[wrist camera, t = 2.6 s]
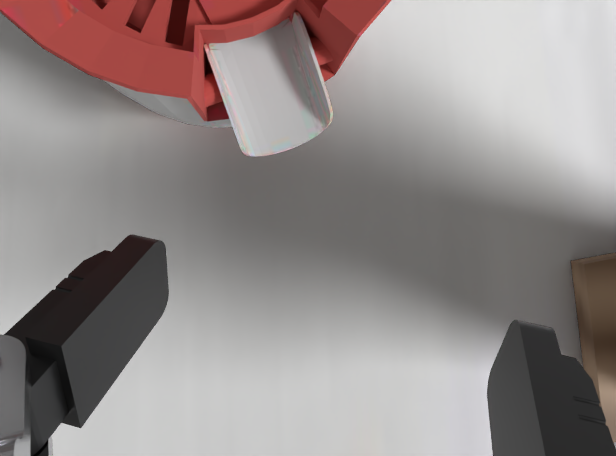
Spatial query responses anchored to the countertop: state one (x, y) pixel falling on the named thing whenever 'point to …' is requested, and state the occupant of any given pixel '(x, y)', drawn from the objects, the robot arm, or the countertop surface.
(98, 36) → the citrus juicer
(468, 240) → the countertop surface
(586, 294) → the stand
